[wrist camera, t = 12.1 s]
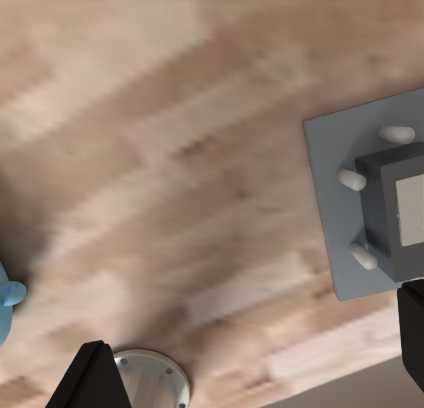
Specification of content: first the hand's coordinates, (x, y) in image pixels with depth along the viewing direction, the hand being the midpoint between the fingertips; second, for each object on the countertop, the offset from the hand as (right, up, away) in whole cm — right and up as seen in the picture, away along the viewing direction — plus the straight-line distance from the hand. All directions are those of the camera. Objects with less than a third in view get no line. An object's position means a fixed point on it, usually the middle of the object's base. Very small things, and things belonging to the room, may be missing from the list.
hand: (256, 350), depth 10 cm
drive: (+17, +5, +21) cm, 28 cm away
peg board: (+17, +5, +23) cm, 29 cm away
